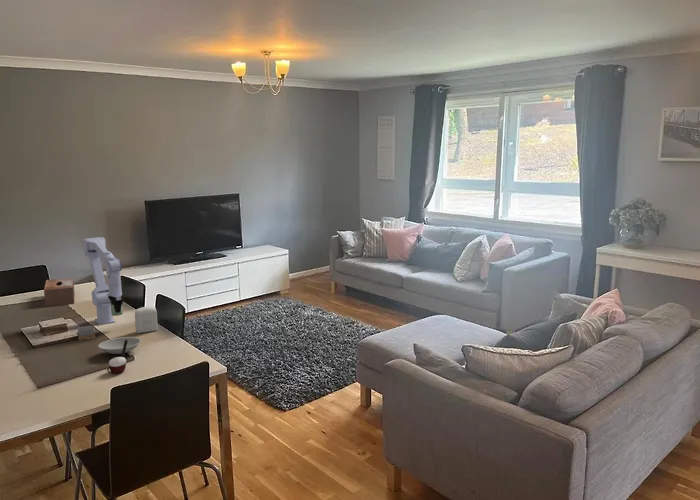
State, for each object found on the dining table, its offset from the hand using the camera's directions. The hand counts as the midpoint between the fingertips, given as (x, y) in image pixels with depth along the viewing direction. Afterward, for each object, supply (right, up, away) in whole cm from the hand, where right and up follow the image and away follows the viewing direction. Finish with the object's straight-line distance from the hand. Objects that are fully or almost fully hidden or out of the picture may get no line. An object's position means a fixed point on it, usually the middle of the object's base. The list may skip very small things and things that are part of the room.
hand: (116, 311), depth 264 cm
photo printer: (+15, -10, -1) cm, 18 cm away
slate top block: (-10, -9, -10) cm, 17 cm away
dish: (+15, -16, -29) cm, 36 cm away
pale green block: (0, -2, 0) cm, 2 cm away
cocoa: (+22, -19, -48) cm, 57 cm away
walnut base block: (-10, -12, -10) cm, 18 cm away
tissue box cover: (-56, 0, +53) cm, 77 cm away
